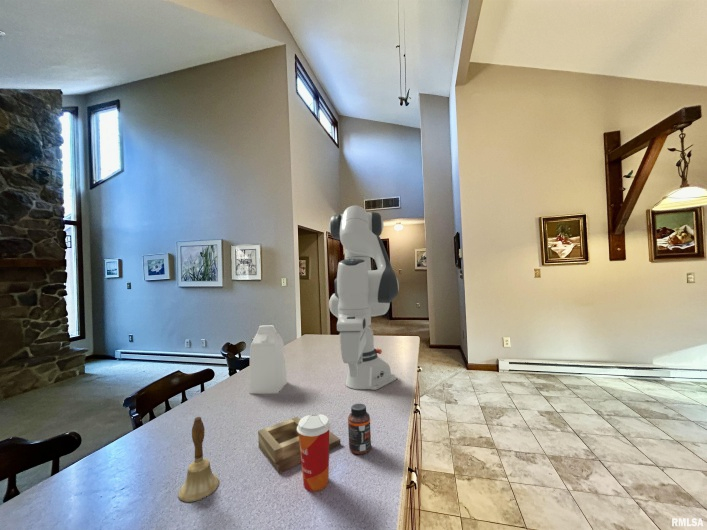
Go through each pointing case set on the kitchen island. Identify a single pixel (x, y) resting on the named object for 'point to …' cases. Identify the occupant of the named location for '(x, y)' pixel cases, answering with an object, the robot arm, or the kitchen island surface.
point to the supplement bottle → (359, 429)
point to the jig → (285, 444)
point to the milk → (267, 362)
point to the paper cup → (314, 451)
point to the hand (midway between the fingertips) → (356, 370)
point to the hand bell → (198, 470)
